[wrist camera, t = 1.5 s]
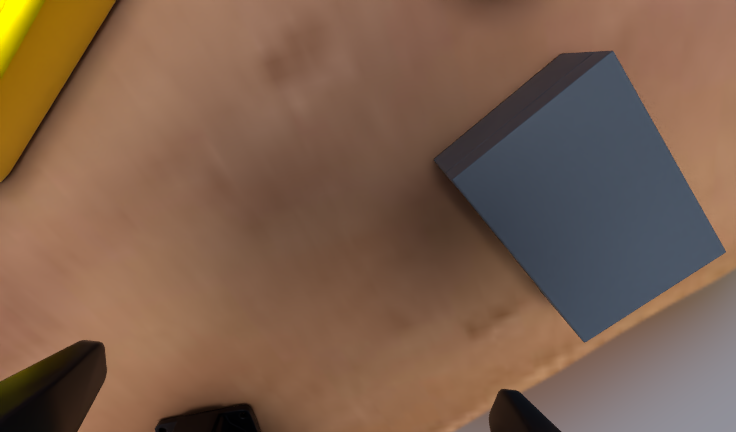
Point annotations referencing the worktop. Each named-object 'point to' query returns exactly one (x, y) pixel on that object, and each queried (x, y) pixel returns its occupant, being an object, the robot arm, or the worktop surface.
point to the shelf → (583, 192)
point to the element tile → (38, 62)
